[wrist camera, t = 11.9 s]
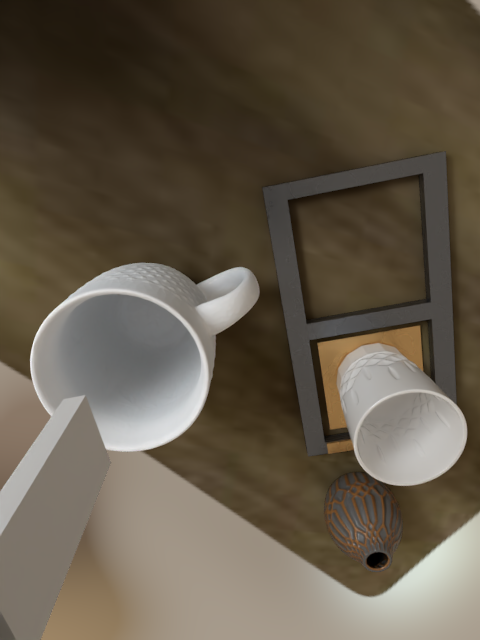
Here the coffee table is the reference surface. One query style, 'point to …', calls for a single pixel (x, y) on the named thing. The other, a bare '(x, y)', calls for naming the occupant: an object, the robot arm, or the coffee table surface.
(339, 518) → the vase
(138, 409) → the mug
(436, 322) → the grey double frame
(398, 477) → the white cup
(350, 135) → the coffee table surface
